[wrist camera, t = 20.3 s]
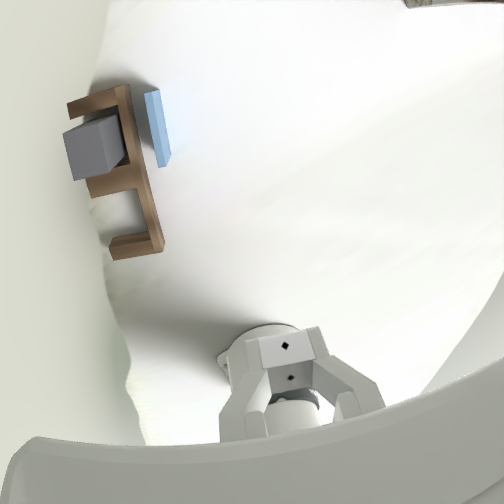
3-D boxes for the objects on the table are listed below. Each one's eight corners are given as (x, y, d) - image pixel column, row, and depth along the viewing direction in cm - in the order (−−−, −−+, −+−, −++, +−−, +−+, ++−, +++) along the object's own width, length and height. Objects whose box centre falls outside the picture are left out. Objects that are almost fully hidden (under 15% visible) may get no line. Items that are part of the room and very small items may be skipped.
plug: (127, 152, 34) (109, 172, 27) (98, 158, 33) (74, 180, 27) (120, 112, 31) (98, 123, 24) (90, 120, 31) (62, 133, 24)
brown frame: (189, 237, 41) (187, 258, 37) (117, 250, 40) (109, 271, 36) (157, 77, 29) (149, 77, 25) (75, 101, 29) (57, 106, 25)
